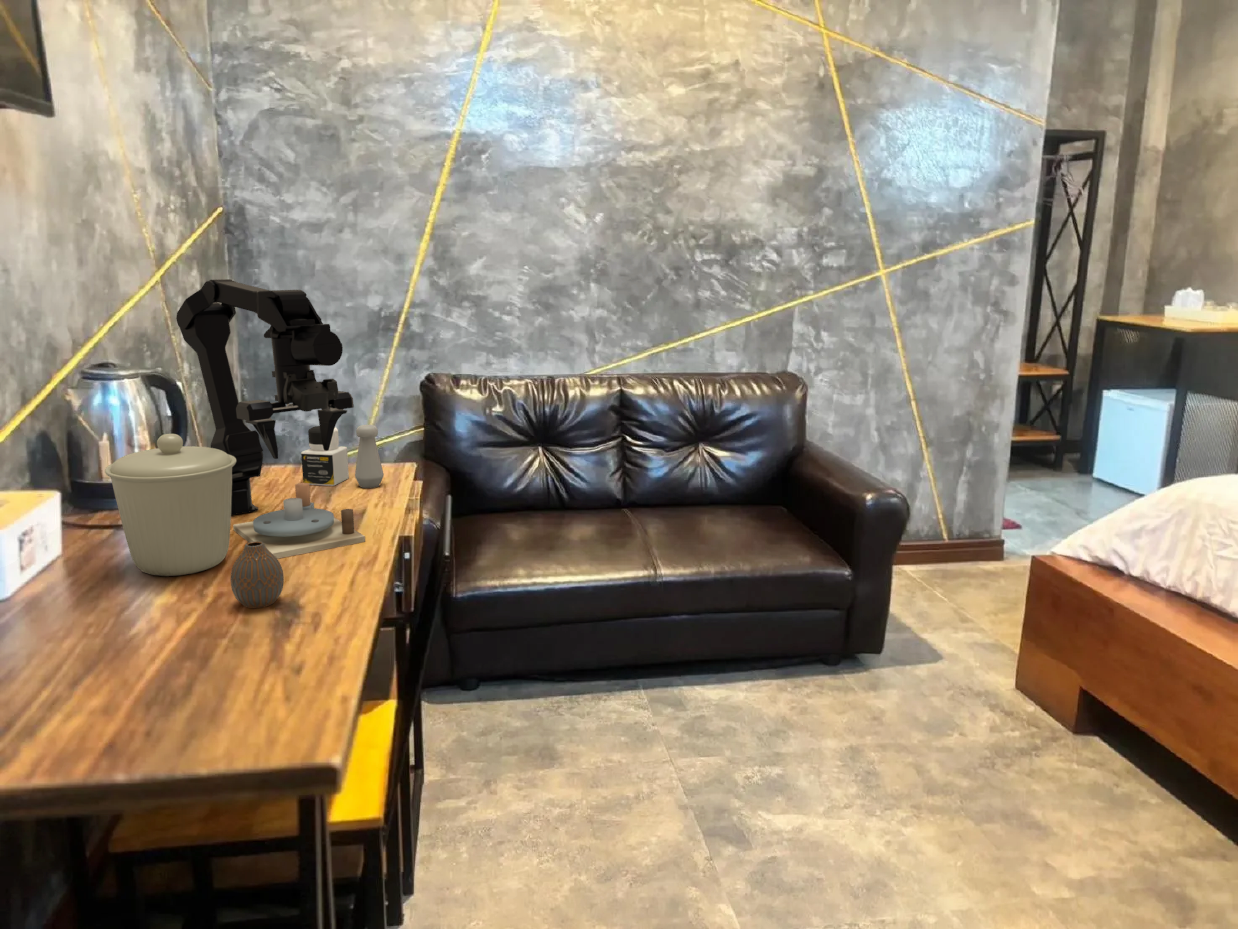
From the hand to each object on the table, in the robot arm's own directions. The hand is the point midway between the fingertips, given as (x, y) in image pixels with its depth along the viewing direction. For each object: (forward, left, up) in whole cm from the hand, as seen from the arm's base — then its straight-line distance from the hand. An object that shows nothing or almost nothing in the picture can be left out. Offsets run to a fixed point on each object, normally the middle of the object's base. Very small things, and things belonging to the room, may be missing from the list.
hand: (301, 454), depth 158 cm
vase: (+30, -17, -14) cm, 37 cm away
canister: (+7, -22, -14) cm, 27 cm away
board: (+2, -2, -14) cm, 14 cm away
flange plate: (+2, -2, -11) cm, 12 cm away
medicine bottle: (-32, +16, -14) cm, 39 cm away
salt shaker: (-23, +22, -14) cm, 35 cm away
